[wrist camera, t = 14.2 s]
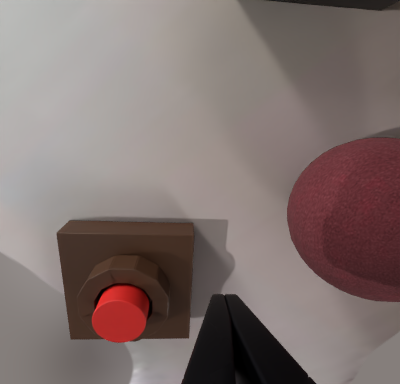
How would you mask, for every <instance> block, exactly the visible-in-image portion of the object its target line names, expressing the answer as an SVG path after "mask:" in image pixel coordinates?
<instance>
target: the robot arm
mask: <svg viewBox="0 0 400 384" xmlns="http://www.w3.org/2000/svg"><path fill="white" fill-rule="evenodd" d="M181 384H316V383H315V382H314V381H313V380H312V379H311V377H308V374H307V373H306V372H305V371H304V370H303V369H302V367H301V366H300V365H299V364H298V363H297V362H296V361H295V360H294V358H293V357H292V356H291V355H290V354H289V353H288V352H287V351H286V350H285V348H284V347H283V346H282V345H281V344H280V343H279V342H278V341H277V339H276V338H275V337H274V336H273V335H272V334H271V333H270V332H269V330H268V329H267V328H266V327H265V326H264V325H263V324H262V323H261V321H260V320H259V319H258V318H257V317H256V316H255V315H254V314H253V312H252V311H251V310H250V309H249V308H248V307H247V306H246V305H245V304H244V302H243V301H242V300H241V299H240V298H239V297H238V296H237V295H235V294H226V295H225V296H224V295H223V294H213V295H212V297H211V300H210V303H209V306H208V309H207V311H206V314H205V317H204V320H203V323H202V326H201V329H200V332H199V334H198V337H197V340H196V343H195V346H194V349H193V352H192V355H191V358H190V360H189V363H188V366H187V369H186V372H185V375H184V379H183V380H182V383H181Z"/></svg>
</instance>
